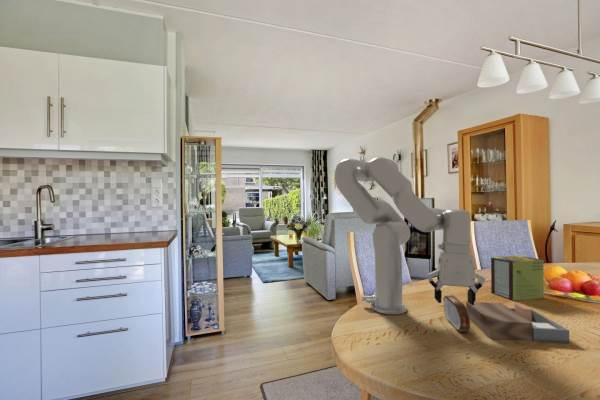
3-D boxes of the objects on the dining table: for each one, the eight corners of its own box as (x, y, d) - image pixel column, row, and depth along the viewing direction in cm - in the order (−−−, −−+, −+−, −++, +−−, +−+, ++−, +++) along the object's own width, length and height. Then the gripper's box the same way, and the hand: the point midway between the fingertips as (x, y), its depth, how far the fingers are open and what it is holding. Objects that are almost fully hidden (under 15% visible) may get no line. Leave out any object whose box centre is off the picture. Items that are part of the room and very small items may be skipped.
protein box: (544, 298, 118) (544, 259, 118) (513, 301, 114) (512, 261, 114) (519, 290, 128) (519, 254, 128) (490, 292, 125) (490, 256, 125)
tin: (471, 337, 85) (471, 308, 85) (459, 336, 85) (459, 307, 85) (451, 316, 99) (451, 291, 99) (441, 316, 100) (441, 291, 100)
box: (533, 341, 82) (533, 328, 82) (502, 318, 98) (502, 307, 98) (569, 343, 81) (569, 330, 81) (531, 319, 97) (531, 308, 97)
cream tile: (560, 330, 83) (560, 337, 83) (547, 323, 88) (547, 329, 88) (540, 329, 83) (540, 336, 83) (529, 322, 88) (529, 328, 88)
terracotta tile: (524, 309, 91) (531, 309, 91) (514, 303, 96) (521, 303, 96) (524, 325, 91) (531, 325, 91) (514, 318, 96) (521, 318, 96)
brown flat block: (490, 338, 84) (490, 321, 84) (466, 316, 99) (466, 301, 99) (532, 340, 82) (532, 323, 82) (501, 318, 98) (501, 303, 98)
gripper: (430, 249, 90) (429, 305, 90) (491, 252, 87) (489, 309, 88) (423, 245, 97) (422, 296, 98) (479, 247, 95) (478, 300, 95)
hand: (454, 302), depth 93 cm, fingers open, 9 cm apart
